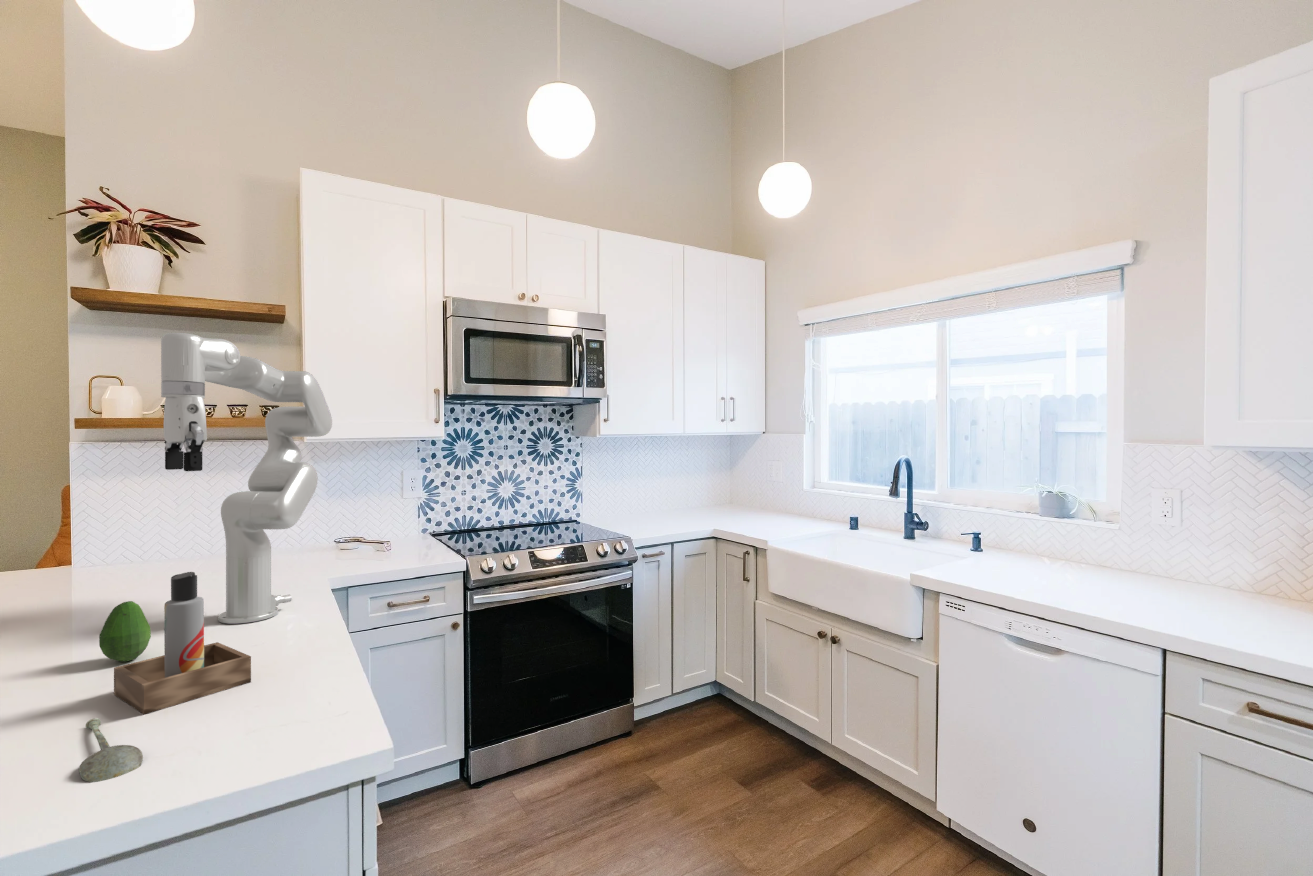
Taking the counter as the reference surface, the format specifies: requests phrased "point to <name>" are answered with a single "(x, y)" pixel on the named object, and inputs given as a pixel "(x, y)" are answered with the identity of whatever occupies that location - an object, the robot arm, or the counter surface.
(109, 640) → the avocado
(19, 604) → the counter surface
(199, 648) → the lotion bottle
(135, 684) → the walnut tray
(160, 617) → the counter surface
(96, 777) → the soupspoon
